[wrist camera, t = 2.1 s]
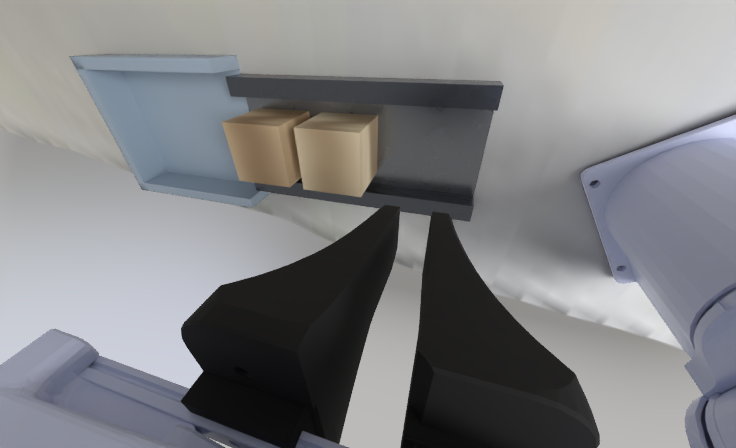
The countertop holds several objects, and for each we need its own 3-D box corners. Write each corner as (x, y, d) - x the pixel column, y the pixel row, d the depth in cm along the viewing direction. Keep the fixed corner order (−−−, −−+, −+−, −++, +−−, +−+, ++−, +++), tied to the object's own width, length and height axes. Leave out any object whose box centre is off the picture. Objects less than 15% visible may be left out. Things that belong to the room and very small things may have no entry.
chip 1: (308, 111, 19) (278, 126, 16) (315, 164, 21) (289, 187, 18) (259, 108, 20) (221, 122, 17) (271, 159, 22) (239, 180, 19)
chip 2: (377, 115, 18) (359, 132, 15) (377, 171, 20) (361, 197, 17) (322, 111, 19) (293, 127, 16) (327, 166, 21) (303, 189, 18)
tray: (240, 54, 19) (208, 58, 16) (272, 191, 25) (252, 207, 23) (112, 53, 22) (69, 56, 19) (169, 176, 28) (141, 189, 25)
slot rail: (499, 80, 15) (503, 85, 14) (469, 206, 20) (469, 221, 19) (244, 73, 19) (225, 76, 18) (269, 180, 24) (256, 190, 23)
